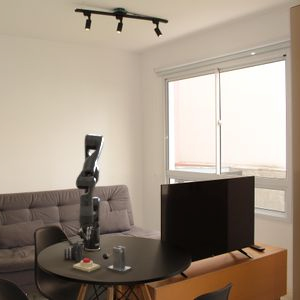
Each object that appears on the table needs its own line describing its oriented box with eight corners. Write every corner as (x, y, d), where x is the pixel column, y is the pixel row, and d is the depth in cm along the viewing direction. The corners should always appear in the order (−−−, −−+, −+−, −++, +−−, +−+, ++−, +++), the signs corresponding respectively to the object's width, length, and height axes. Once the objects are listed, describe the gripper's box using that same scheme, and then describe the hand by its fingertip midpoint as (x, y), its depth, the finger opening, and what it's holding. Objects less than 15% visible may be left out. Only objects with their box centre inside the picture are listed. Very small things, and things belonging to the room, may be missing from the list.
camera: (65, 255, 229) (64, 239, 229) (83, 255, 229) (83, 239, 229) (64, 263, 215) (64, 245, 215) (83, 263, 215) (83, 245, 215)
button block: (73, 269, 205) (73, 261, 204) (84, 265, 211) (84, 257, 211) (89, 273, 197) (89, 265, 197) (100, 269, 204) (99, 261, 204)
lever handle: (102, 260, 208) (100, 255, 209) (106, 259, 210) (104, 253, 211) (120, 253, 200) (118, 247, 201) (123, 252, 203) (121, 246, 203)
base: (107, 269, 203) (106, 247, 203) (115, 266, 209) (115, 244, 209) (122, 273, 196) (122, 250, 196) (131, 269, 202) (131, 247, 202)
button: (81, 262, 204) (81, 259, 204) (86, 260, 207) (86, 257, 207) (86, 263, 202) (86, 260, 202) (91, 262, 204) (91, 258, 204)
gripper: (88, 211, 212) (89, 243, 212) (72, 214, 201) (73, 247, 202) (99, 212, 207) (99, 245, 207) (83, 216, 197) (83, 250, 197)
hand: (86, 246), depth 204 cm, fingers closed
